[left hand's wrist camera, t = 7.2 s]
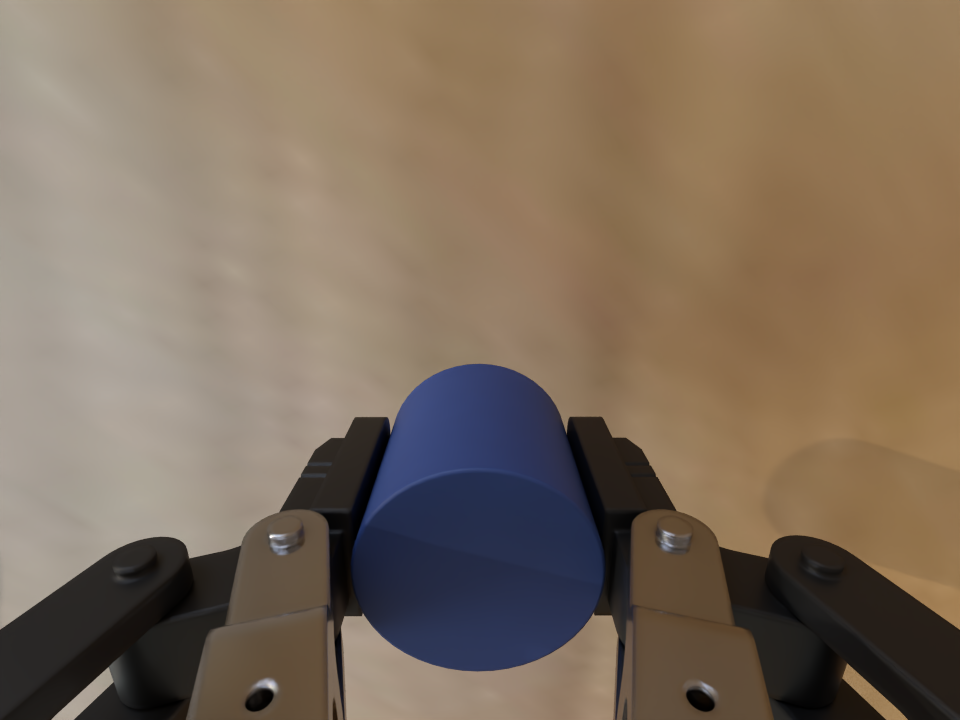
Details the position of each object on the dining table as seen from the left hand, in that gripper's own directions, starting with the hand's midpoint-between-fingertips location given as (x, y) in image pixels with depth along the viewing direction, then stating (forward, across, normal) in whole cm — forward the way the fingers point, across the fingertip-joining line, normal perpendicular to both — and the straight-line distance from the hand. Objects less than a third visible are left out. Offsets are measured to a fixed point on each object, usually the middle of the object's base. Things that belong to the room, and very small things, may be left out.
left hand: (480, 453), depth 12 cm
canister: (0, 0, 0) cm, 0 cm away
